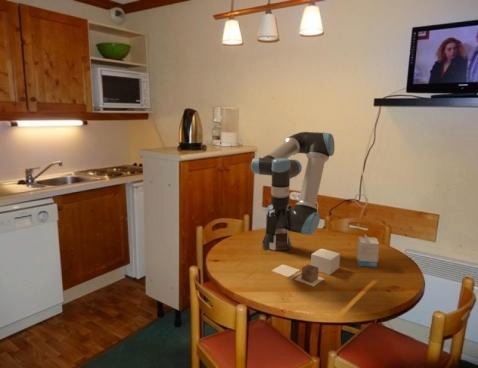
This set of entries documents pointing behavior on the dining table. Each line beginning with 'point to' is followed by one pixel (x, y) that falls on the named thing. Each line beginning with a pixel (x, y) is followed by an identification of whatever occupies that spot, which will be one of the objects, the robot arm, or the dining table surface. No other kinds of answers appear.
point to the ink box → (367, 251)
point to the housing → (325, 261)
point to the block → (309, 273)
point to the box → (281, 239)
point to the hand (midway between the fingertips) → (278, 246)
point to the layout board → (307, 281)
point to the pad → (285, 270)
